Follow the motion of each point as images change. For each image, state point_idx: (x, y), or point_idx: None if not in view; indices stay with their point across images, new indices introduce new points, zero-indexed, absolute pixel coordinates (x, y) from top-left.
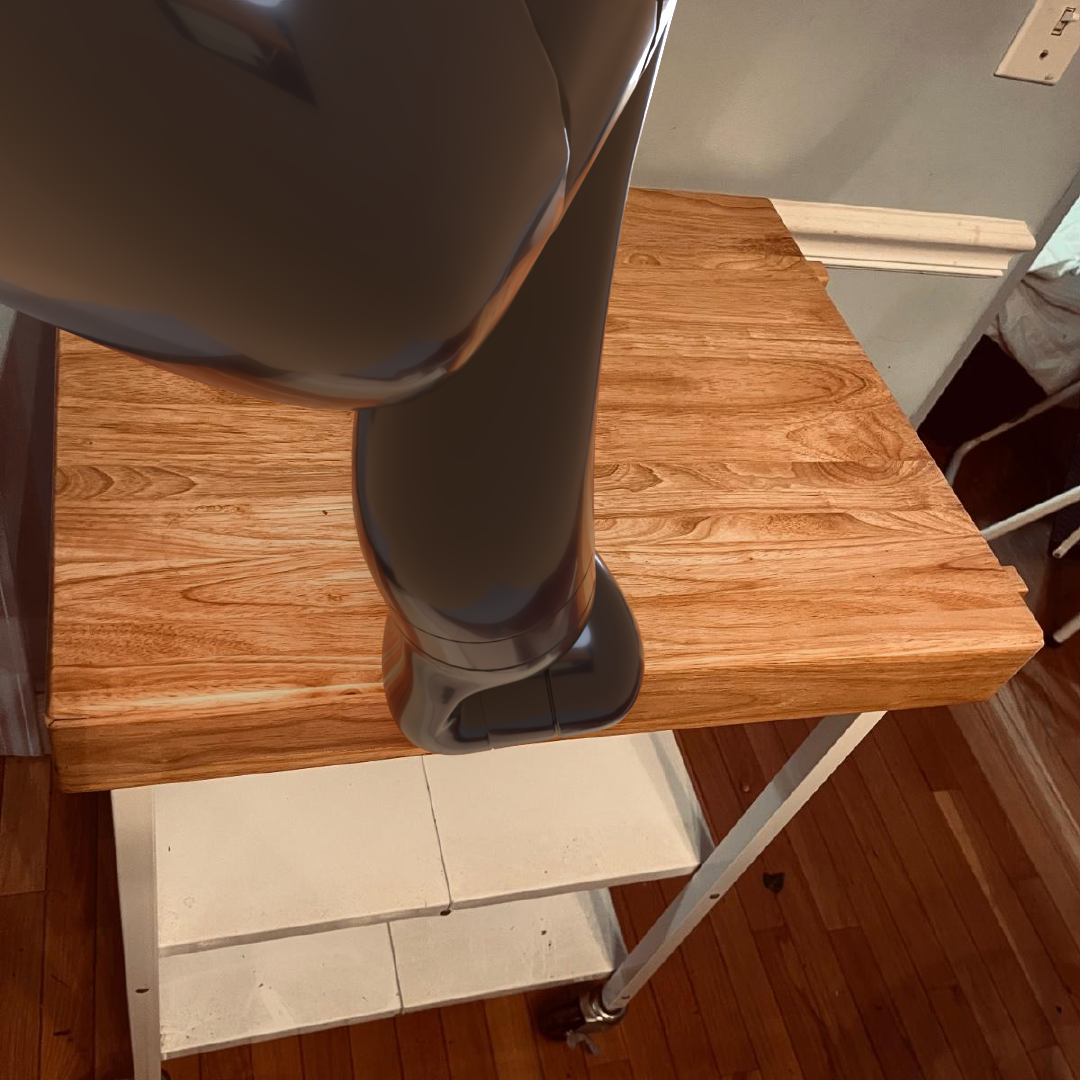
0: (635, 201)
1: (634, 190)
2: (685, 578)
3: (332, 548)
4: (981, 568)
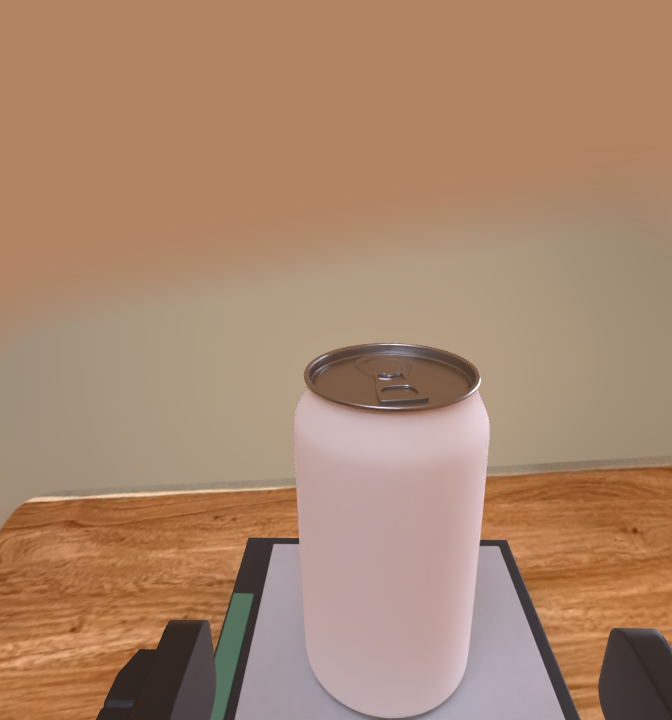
0: (667, 483)
1: (657, 469)
2: None
3: None
4: None
